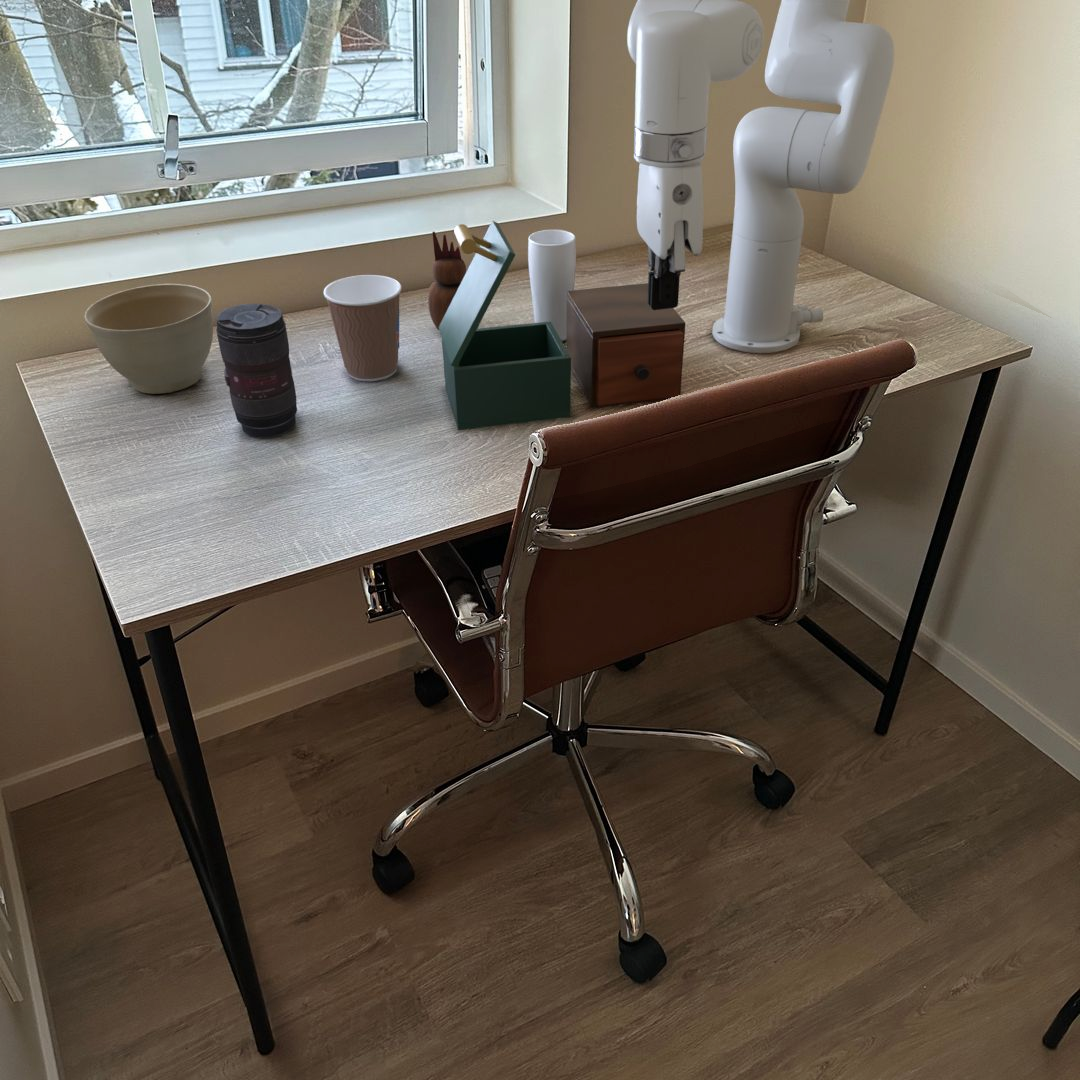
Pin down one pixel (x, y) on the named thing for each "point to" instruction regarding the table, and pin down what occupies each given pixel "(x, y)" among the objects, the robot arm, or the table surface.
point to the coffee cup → (366, 324)
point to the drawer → (638, 366)
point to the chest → (510, 377)
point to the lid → (475, 287)
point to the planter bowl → (154, 334)
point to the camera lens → (258, 368)
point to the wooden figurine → (444, 279)
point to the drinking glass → (551, 276)
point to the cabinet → (610, 327)
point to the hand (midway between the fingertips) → (662, 305)
